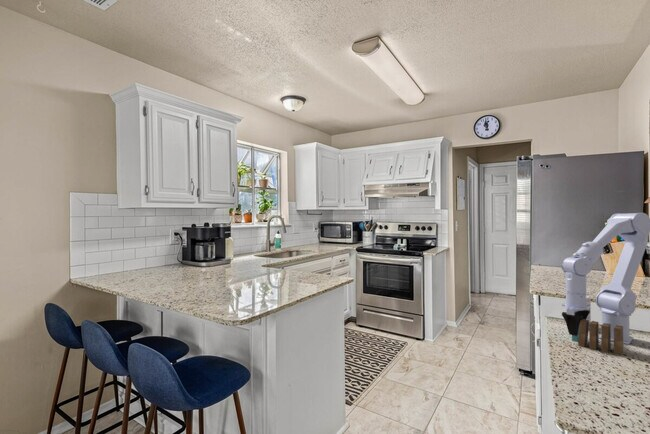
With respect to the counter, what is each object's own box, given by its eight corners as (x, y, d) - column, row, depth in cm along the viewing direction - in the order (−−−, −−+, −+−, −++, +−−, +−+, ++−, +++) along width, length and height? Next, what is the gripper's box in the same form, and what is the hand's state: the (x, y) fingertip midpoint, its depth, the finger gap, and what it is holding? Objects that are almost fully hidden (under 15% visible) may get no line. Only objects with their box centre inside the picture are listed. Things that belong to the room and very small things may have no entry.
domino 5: (614, 354, 103) (613, 327, 103) (616, 350, 106) (616, 325, 106) (621, 355, 102) (620, 328, 102) (623, 352, 104) (623, 326, 105)
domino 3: (589, 348, 108) (589, 323, 108) (592, 345, 110) (592, 320, 110) (595, 349, 106) (595, 324, 107) (598, 346, 109) (598, 322, 109)
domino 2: (578, 345, 110) (580, 321, 110) (581, 342, 112) (583, 319, 112) (584, 347, 109) (586, 322, 108) (587, 344, 111) (589, 320, 111)
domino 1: (571, 340, 115) (571, 316, 115) (575, 338, 117) (574, 314, 118) (577, 341, 114) (577, 317, 114) (580, 339, 116) (580, 315, 116)
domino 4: (601, 351, 105) (601, 325, 105) (604, 348, 108) (604, 322, 108) (608, 352, 104) (607, 326, 104) (610, 349, 107) (610, 324, 107)
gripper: (568, 288, 124) (568, 325, 123) (555, 293, 114) (555, 334, 114) (592, 291, 118) (592, 330, 118) (581, 297, 109) (581, 339, 109)
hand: (576, 332), depth 116 cm, fingers open, 7 cm apart
